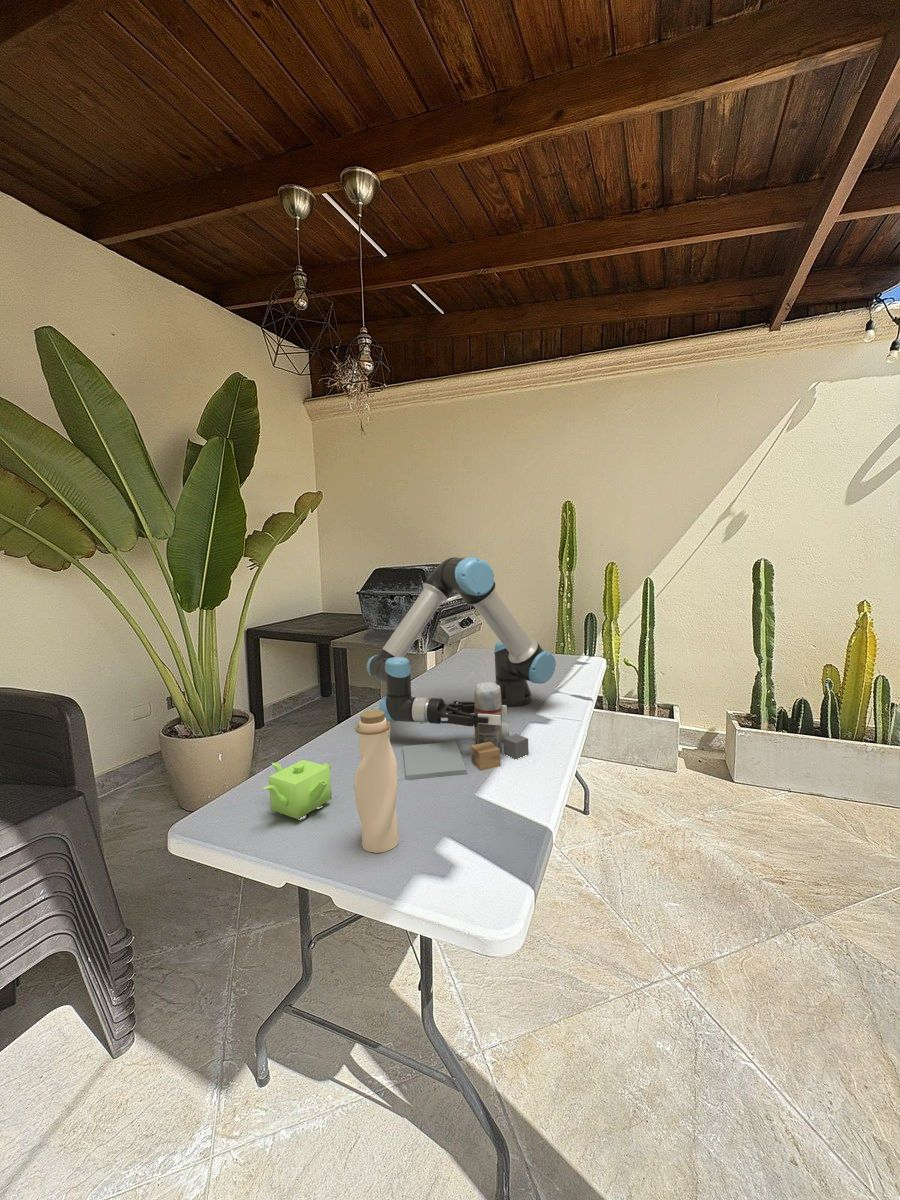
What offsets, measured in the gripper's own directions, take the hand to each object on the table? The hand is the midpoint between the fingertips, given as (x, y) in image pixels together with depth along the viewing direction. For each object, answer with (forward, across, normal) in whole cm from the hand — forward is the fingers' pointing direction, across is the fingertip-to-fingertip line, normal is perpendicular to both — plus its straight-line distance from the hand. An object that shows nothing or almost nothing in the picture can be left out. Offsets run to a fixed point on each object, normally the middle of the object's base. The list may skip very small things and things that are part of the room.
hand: (503, 715), depth 154 cm
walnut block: (-3, +9, -11) cm, 15 cm away
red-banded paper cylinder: (-5, 0, -11) cm, 12 cm away
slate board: (-18, +11, -11) cm, 24 cm away
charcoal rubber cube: (+4, +2, -11) cm, 12 cm away
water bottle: (-16, +51, -11) cm, 54 cm away
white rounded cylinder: (-4, -9, -11) cm, 15 cm away
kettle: (-41, +43, -11) cm, 61 cm away
